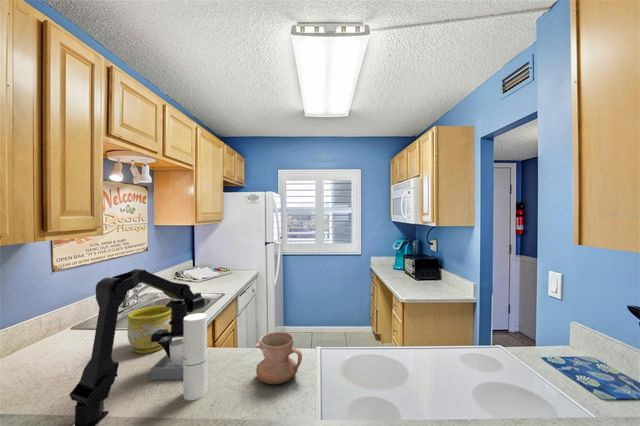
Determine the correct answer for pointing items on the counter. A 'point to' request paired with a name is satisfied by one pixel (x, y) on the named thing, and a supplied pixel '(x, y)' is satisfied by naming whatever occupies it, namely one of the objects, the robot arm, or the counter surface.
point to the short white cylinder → (177, 351)
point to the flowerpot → (147, 327)
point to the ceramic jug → (277, 358)
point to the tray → (166, 370)
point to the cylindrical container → (195, 356)
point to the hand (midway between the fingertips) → (178, 357)
